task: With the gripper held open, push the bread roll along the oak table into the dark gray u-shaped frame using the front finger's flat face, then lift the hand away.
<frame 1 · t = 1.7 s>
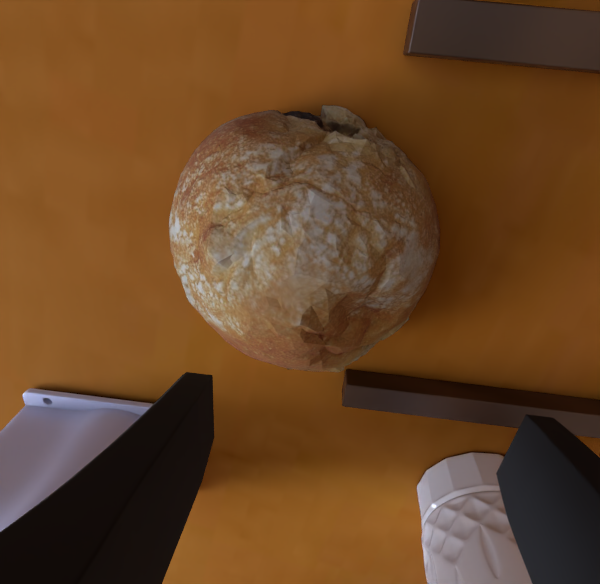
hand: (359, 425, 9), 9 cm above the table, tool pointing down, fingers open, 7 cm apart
dark gray u-shaped frame: (546, 262, 17), on the table
white cup: (471, 485, 24), on the table
bread roll: (309, 234, 17), on the table
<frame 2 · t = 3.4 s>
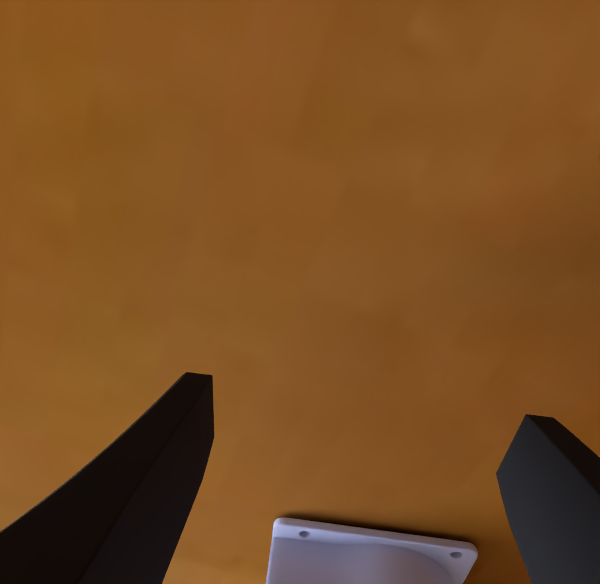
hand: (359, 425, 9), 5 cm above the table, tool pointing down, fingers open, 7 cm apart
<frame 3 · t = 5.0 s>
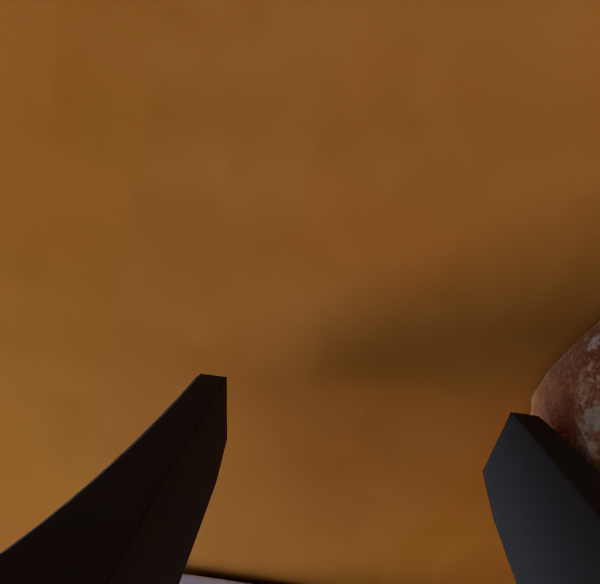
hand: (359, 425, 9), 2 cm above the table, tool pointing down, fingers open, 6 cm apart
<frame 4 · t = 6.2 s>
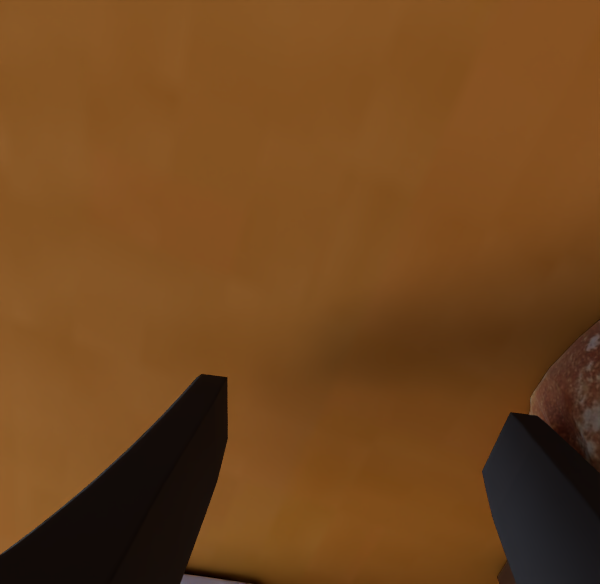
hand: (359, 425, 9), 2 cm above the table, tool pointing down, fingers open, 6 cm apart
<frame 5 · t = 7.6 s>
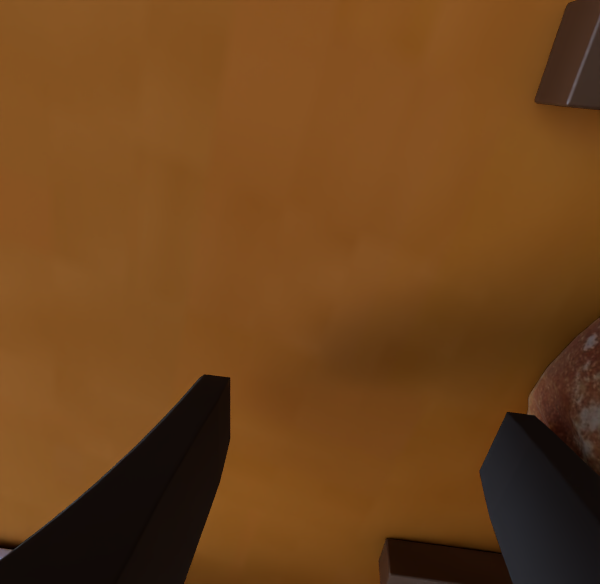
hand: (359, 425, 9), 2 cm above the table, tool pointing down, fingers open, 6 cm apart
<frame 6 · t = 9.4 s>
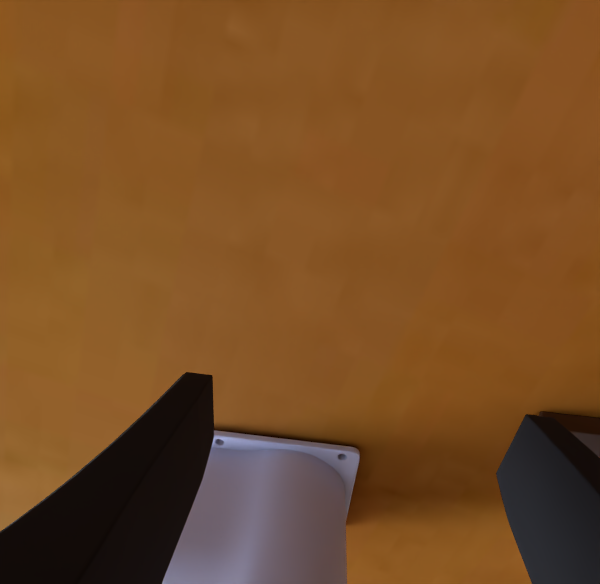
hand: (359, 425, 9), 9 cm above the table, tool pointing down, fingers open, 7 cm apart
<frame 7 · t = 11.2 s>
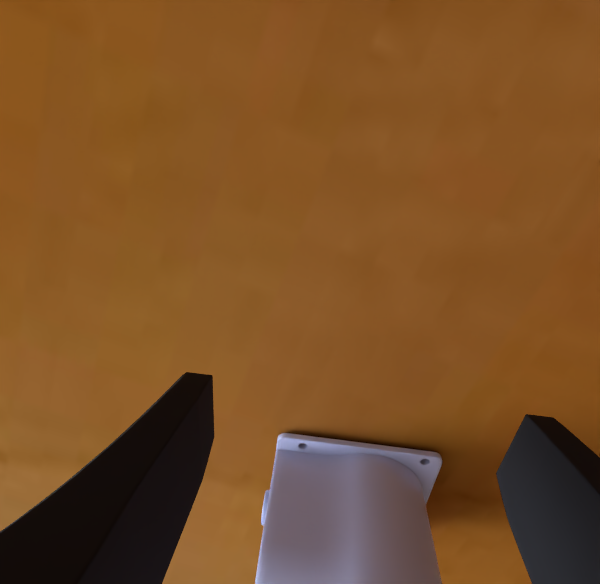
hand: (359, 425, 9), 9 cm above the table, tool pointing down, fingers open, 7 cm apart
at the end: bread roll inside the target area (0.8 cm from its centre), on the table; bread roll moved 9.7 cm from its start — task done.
